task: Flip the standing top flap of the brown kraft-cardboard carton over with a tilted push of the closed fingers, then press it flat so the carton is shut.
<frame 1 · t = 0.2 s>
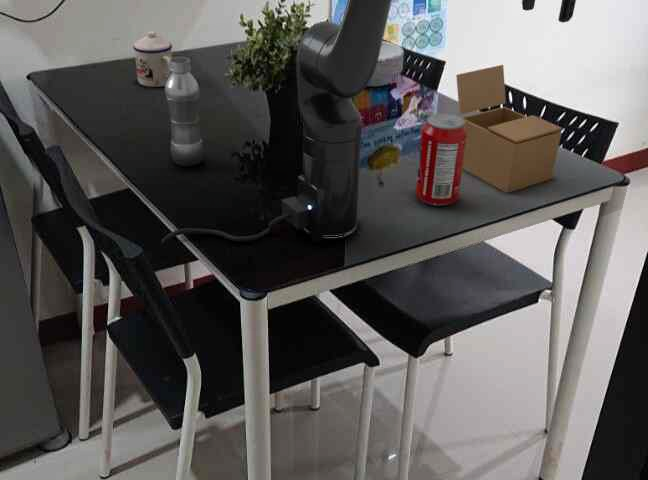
hand: (545, 15, 136), 29 cm above the table, tool pointing down, fingers open, 8 cm apart
teacup with lid: (159, 83, 189), on the table
paper bowls: (370, 81, 194), on the table
plastic bottle: (188, 163, 153), on the table
carton: (501, 171, 153), on the table
flap: (481, 89, 151), point 14 cm above the table, hinge at 108.0°
soda can: (436, 199, 143), on the table
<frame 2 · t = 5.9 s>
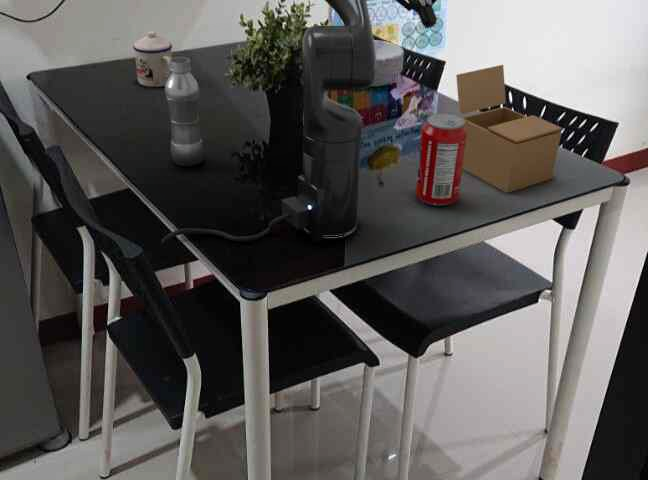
hand: (431, 25, 157), 22 cm above the table, tool tilted 45°, fingers closed
nothing on the table moved.
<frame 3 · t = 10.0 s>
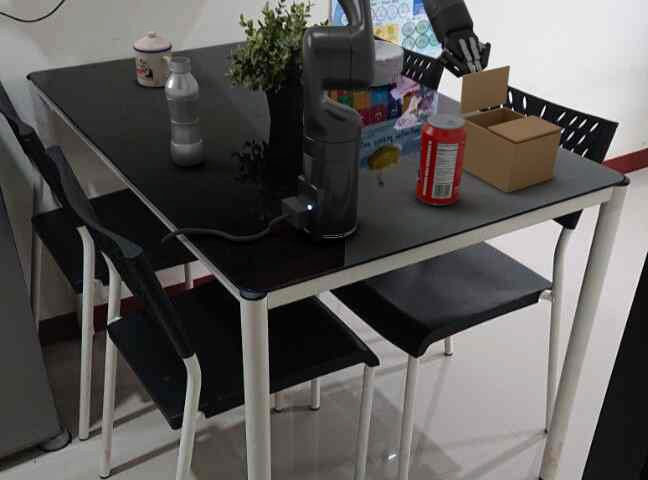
hand: (481, 93, 151), 13 cm above the table, tool tilted 45°, fingers closed
flap: (484, 89, 150), point 14 cm above the table, hinge at 93.9°, touching gripper
everything else where it was.
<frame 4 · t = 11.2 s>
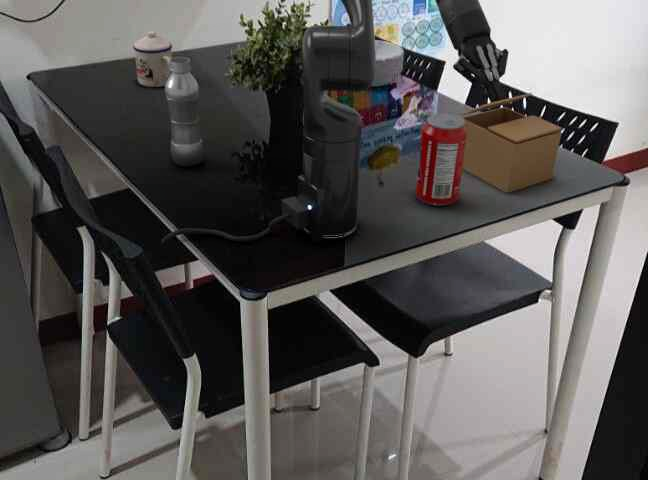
hand: (498, 101, 148), 13 cm above the table, tool tilted 45°, fingers closed
flap: (496, 104, 149), point 12 cm above the table, hinge at 32.2°
everything else where it was.
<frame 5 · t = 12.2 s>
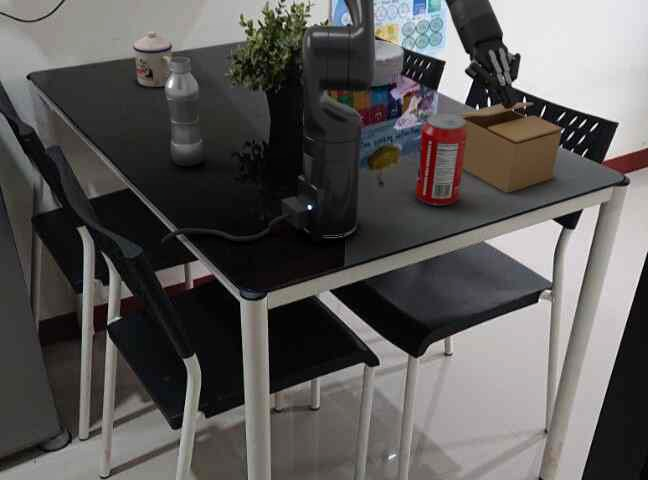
hand: (511, 106, 146), 13 cm above the table, tool tilted 45°, fingers closed
flap: (496, 109, 149), point 11 cm above the table, hinge at 18.2°, touching gripper
everything else where it was.
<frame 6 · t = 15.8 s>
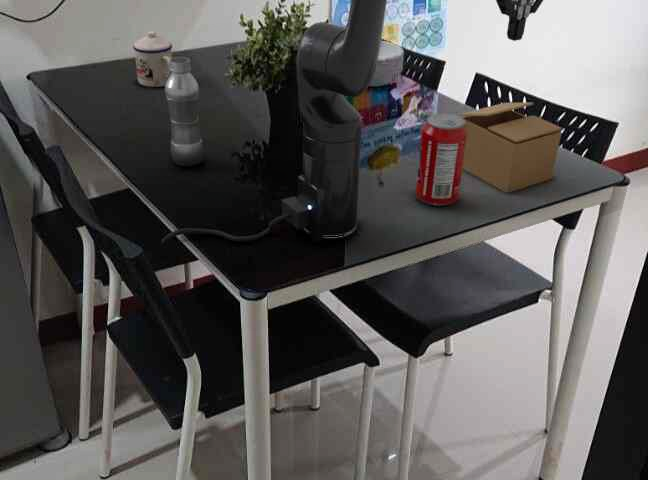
hand: (514, 39, 140), 25 cm above the table, tool pointing down, fingers closed
flap: (496, 109, 149), point 11 cm above the table, hinge at 18.2°
everything else where it was.
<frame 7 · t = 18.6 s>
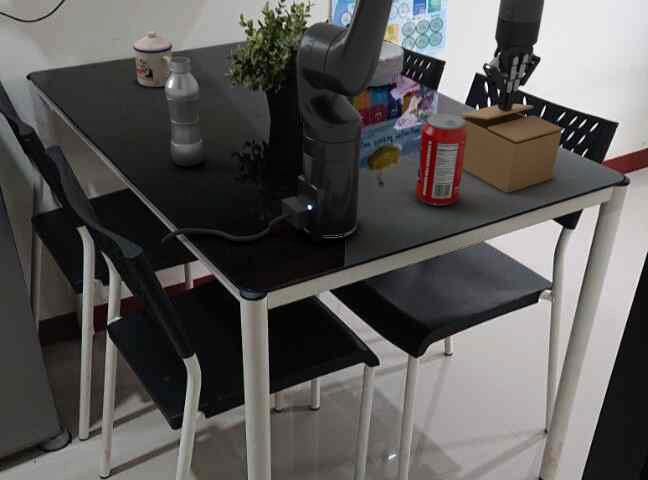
hand: (504, 109, 147), 12 cm above the table, tool pointing down, fingers closed
flap: (496, 110, 149), point 11 cm above the table, hinge at 13.3°, touching gripper
everything else where it was.
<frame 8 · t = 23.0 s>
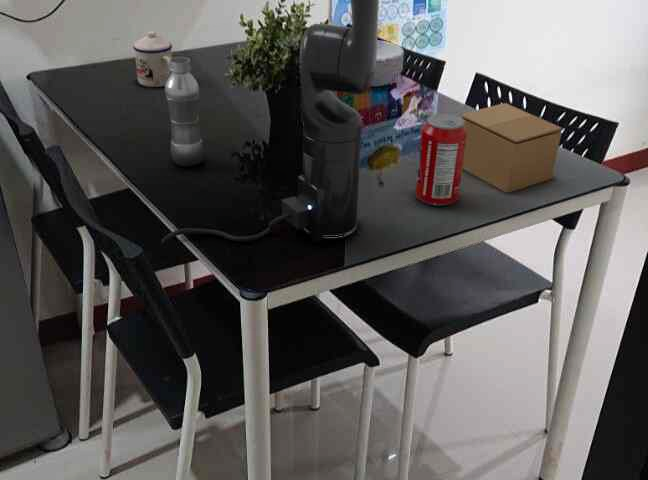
flap: (496, 115, 150), point 10 cm above the table, hinge at -0.4°
everything else where it was.
at the end: flap reached +0° during the clip, +0° at the end; flap at +0° (first picture: +108°) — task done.
